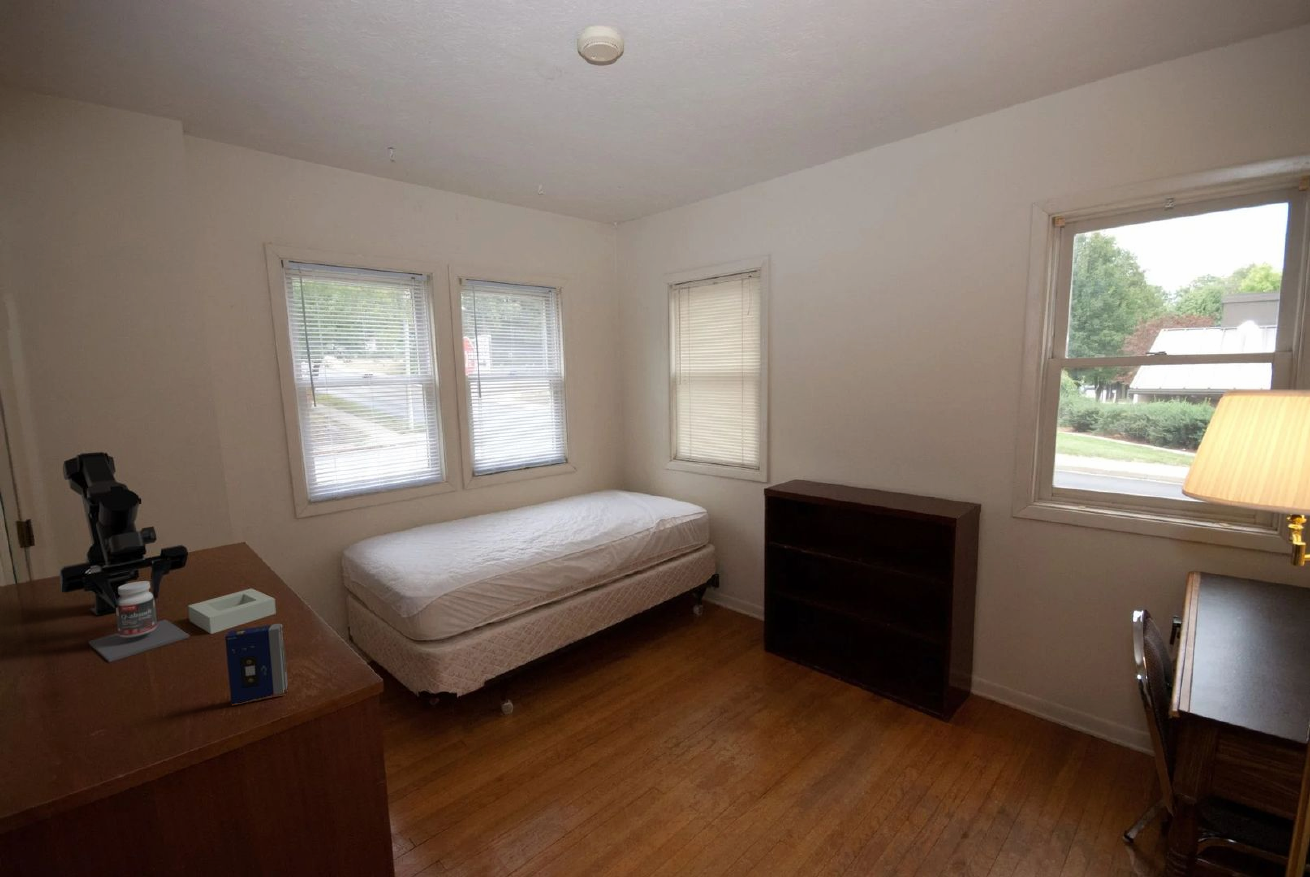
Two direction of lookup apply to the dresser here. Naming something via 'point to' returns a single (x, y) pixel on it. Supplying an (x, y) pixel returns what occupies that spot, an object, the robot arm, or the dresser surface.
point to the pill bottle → (135, 609)
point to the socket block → (231, 610)
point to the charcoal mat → (137, 641)
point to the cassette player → (256, 662)
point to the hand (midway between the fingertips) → (136, 602)
